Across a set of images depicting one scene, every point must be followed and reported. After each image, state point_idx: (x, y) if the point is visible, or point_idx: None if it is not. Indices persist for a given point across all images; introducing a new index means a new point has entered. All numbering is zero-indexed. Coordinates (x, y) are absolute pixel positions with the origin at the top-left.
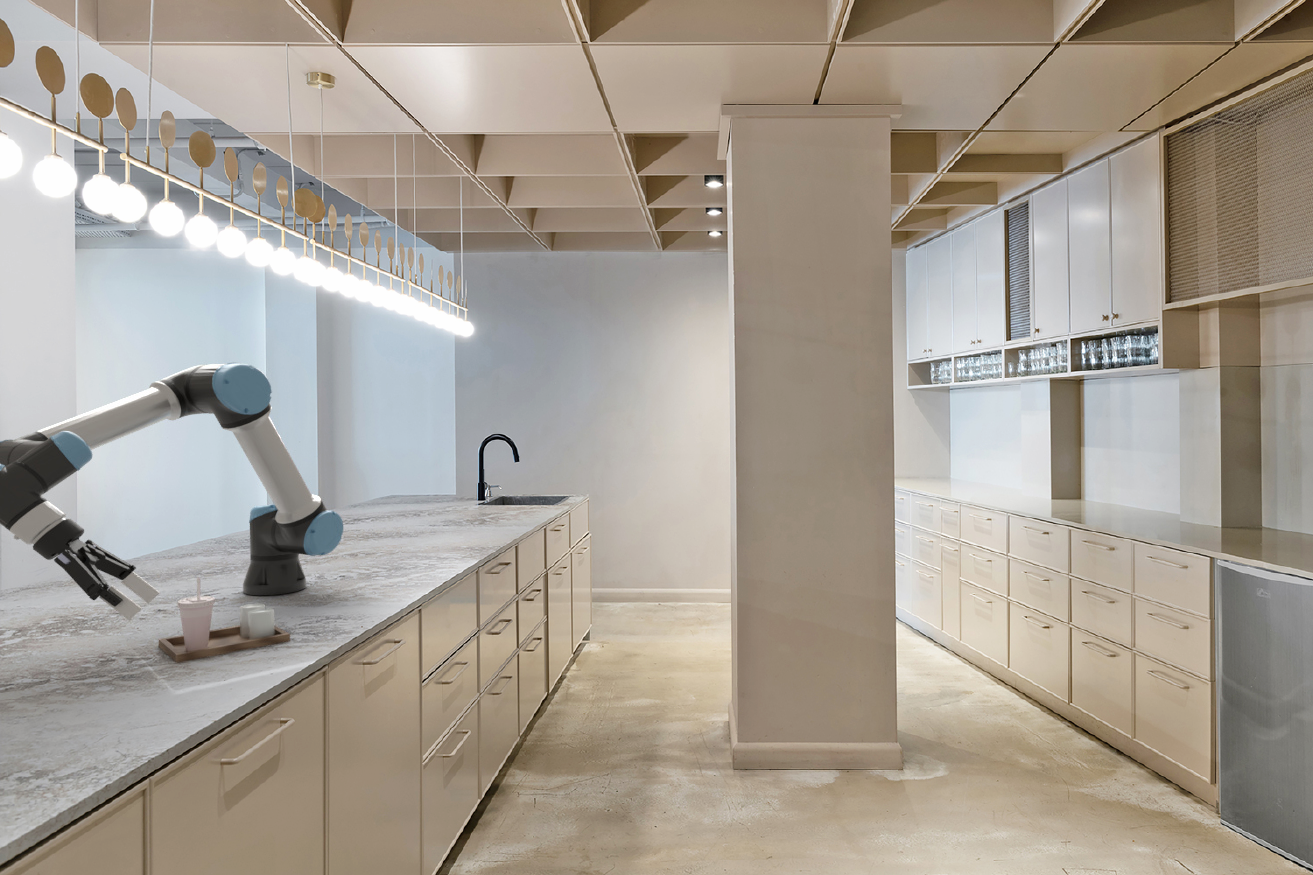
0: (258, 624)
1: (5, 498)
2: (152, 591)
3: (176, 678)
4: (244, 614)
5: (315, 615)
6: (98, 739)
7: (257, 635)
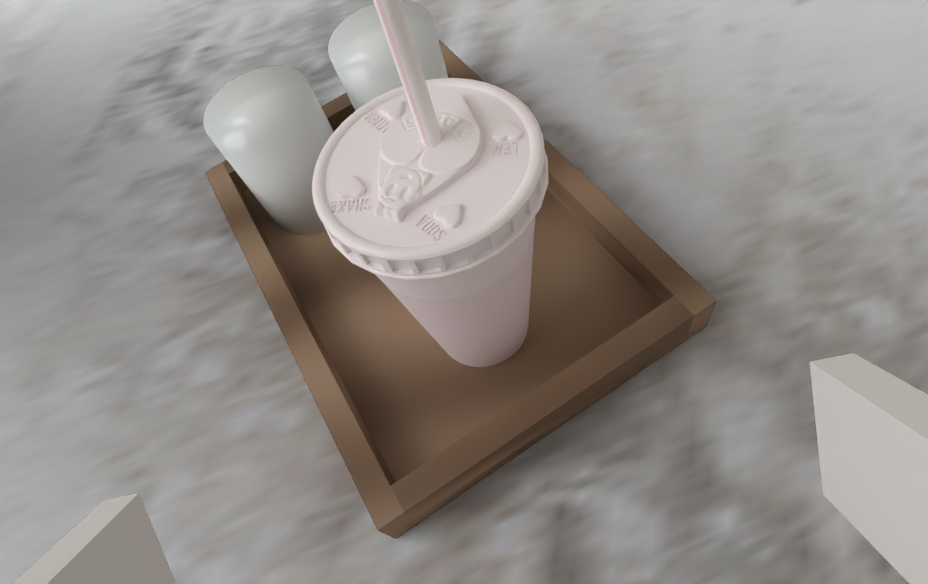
0: (444, 69)
1: None
2: (112, 554)
3: (900, 251)
4: (312, 135)
5: (94, 122)
6: None
7: None
